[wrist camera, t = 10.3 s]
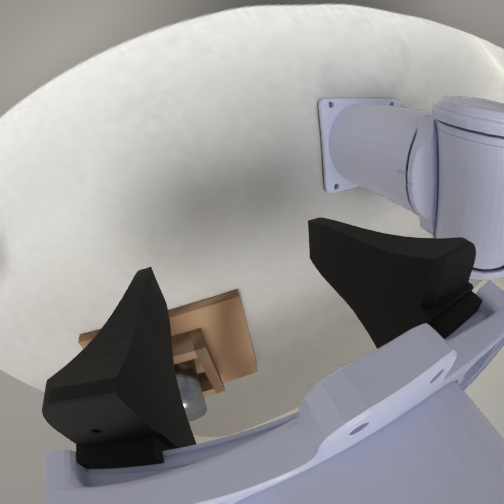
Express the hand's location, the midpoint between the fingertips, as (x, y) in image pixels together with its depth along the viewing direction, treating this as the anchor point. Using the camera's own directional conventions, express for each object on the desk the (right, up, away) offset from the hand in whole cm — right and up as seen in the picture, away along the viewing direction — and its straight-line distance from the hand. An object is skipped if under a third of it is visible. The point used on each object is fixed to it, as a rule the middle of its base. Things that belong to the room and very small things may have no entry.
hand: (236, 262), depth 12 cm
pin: (-7, -11, +13) cm, 18 cm away
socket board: (-7, -10, +14) cm, 19 cm away
